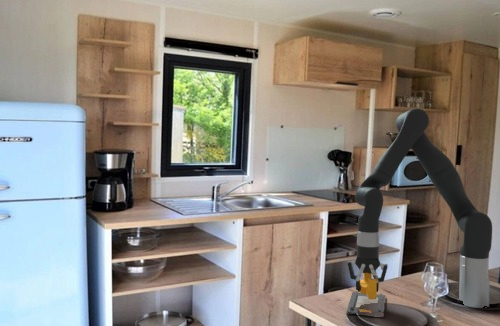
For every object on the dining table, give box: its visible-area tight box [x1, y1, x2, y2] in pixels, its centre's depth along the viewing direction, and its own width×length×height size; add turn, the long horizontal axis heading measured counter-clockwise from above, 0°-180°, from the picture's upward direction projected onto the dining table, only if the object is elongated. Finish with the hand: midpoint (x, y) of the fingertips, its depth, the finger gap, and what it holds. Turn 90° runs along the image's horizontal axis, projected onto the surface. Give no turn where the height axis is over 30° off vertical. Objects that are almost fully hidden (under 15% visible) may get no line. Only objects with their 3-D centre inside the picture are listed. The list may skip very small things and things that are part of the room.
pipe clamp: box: [359, 272, 377, 299], centre depth 165 cm, size 12×4×6 cm, turn 175°
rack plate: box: [346, 290, 386, 314], centre depth 164 cm, size 12×22×2 cm, turn 163°
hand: (366, 291), depth 165 cm, fingers closed on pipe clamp, 5 cm apart
